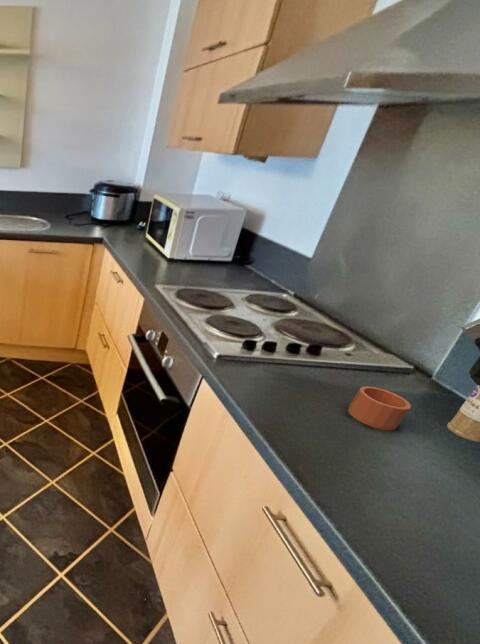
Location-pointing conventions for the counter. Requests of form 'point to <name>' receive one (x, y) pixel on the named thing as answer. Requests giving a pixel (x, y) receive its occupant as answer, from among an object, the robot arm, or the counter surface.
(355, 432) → the counter surface
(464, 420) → the sprinkles bottle
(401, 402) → the holder
